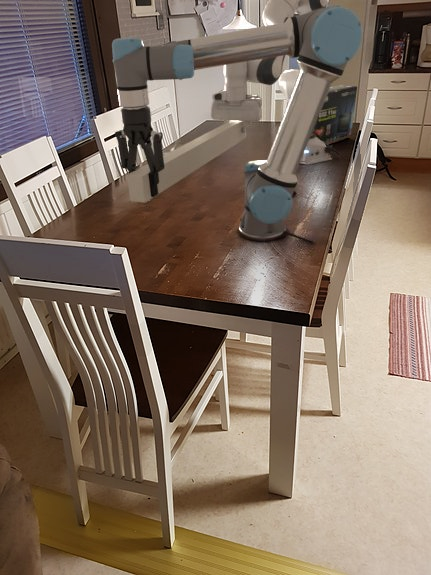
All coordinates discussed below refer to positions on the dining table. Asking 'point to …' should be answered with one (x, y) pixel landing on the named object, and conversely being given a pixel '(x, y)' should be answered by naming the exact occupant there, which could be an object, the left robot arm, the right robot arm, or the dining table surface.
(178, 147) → the fossil
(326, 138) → the router box
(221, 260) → the dining table surface
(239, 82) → the right robot arm
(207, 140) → the post
